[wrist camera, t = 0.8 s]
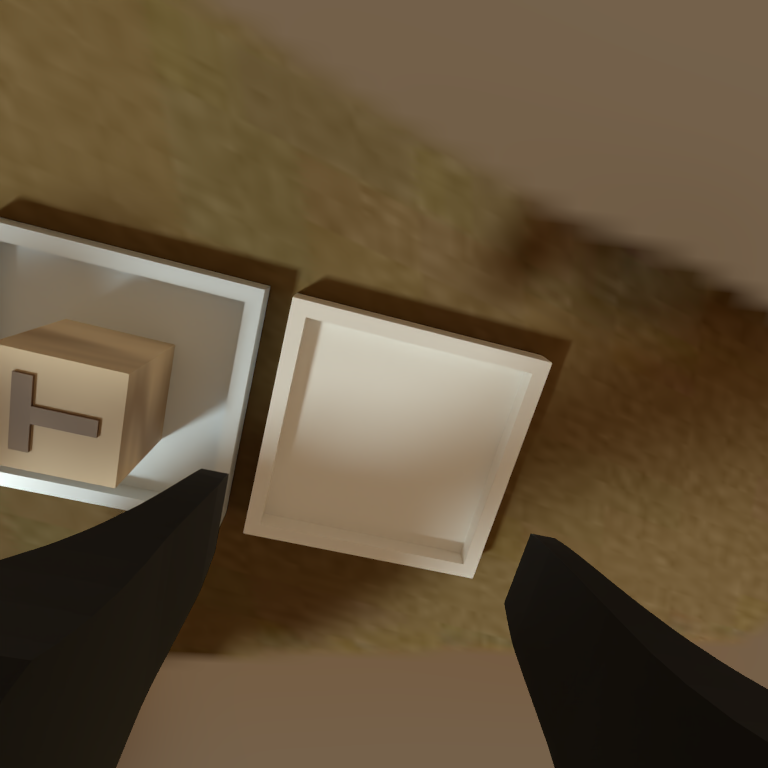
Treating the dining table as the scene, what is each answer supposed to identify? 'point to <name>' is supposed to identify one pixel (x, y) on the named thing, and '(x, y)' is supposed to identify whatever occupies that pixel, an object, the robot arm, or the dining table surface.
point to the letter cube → (81, 400)
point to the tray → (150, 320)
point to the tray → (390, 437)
